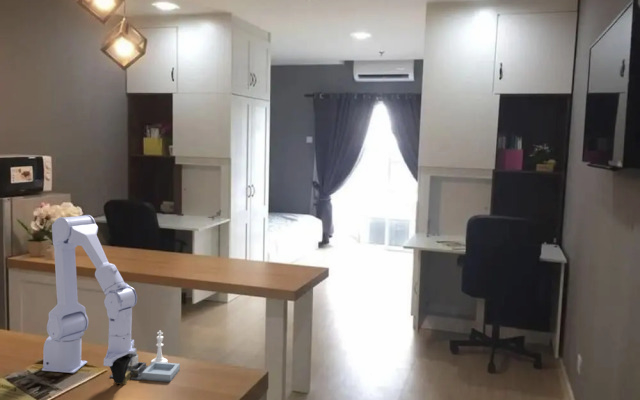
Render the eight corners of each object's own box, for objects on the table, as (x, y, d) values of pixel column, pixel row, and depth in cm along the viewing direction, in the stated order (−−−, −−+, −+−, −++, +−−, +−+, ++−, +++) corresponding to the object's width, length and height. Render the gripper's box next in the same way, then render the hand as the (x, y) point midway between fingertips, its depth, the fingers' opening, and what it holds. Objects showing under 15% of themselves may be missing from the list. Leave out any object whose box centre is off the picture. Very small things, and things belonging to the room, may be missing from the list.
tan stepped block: (115, 383, 148) (115, 375, 148) (121, 377, 152) (122, 369, 152) (125, 384, 148) (125, 376, 148) (131, 378, 152) (131, 370, 152)
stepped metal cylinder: (124, 374, 154) (124, 350, 154) (128, 369, 157) (129, 346, 157) (135, 375, 154) (135, 351, 153) (139, 370, 157) (140, 347, 157)
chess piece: (162, 367, 161) (163, 334, 160) (147, 365, 161) (148, 332, 161) (170, 361, 165) (171, 329, 164) (155, 359, 166) (156, 327, 165)
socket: (109, 377, 152) (109, 370, 151) (123, 365, 160) (123, 358, 160) (141, 380, 151) (141, 373, 151) (153, 367, 160) (153, 360, 160)
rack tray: (142, 379, 152) (142, 372, 151) (152, 368, 159) (152, 361, 159) (170, 381, 151) (170, 374, 151) (179, 370, 159) (179, 363, 159)
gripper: (123, 343, 138) (121, 395, 140) (145, 325, 153) (143, 372, 154) (96, 341, 139) (95, 392, 140) (120, 323, 153) (119, 370, 154)
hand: (119, 381), depth 147 cm, fingers closed
